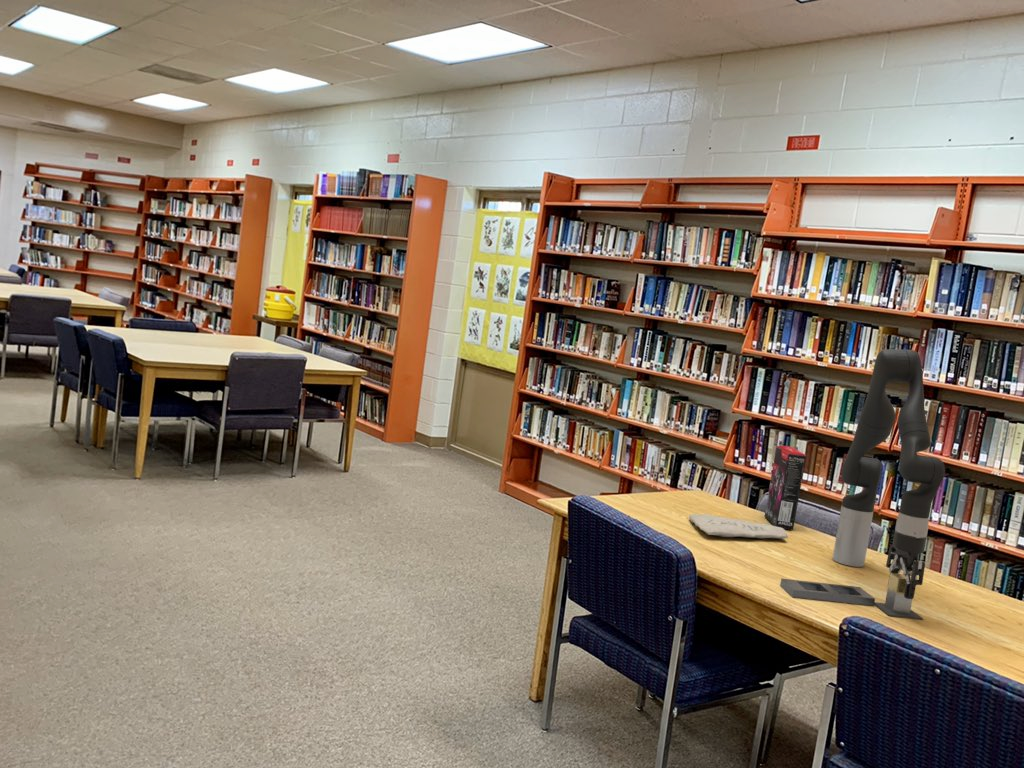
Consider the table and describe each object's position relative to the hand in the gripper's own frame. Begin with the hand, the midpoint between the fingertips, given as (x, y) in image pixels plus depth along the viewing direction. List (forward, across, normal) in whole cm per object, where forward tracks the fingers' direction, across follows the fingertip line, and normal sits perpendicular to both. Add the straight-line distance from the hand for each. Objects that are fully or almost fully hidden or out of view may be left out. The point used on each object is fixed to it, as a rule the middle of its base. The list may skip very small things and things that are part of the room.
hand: (900, 592), depth 223 cm
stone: (+6, -64, -22) cm, 68 cm away
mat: (+5, 0, 0) cm, 5 cm away
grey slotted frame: (+5, -7, -16) cm, 18 cm away
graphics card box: (+5, -85, -1) cm, 85 cm away
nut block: (+5, 0, 0) cm, 5 cm away
